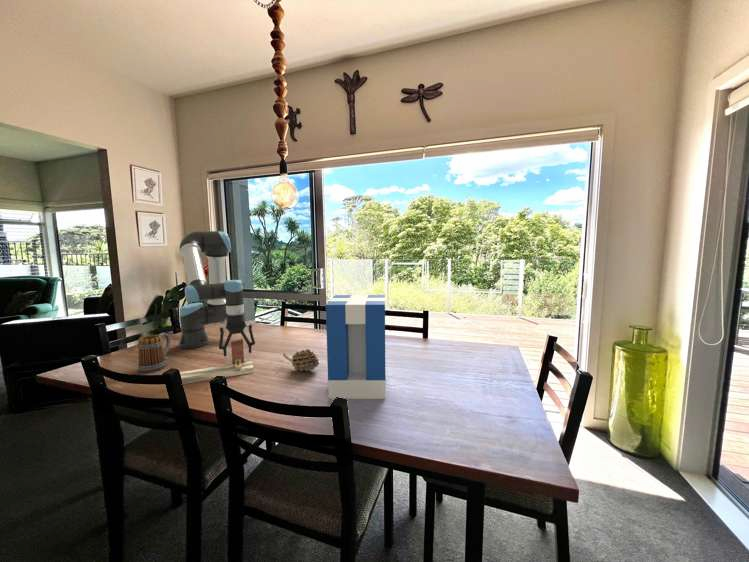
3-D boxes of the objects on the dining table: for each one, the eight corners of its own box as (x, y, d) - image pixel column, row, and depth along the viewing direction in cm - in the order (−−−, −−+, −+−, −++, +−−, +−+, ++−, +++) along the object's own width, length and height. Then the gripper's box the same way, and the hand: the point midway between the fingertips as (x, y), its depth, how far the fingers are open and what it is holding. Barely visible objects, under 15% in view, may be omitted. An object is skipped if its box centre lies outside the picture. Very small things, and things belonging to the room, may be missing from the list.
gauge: (232, 364, 148) (231, 339, 147) (244, 362, 150) (242, 338, 149) (232, 375, 135) (230, 349, 134) (245, 373, 137) (243, 347, 136)
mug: (152, 374, 139) (148, 341, 137) (132, 372, 141) (129, 340, 139) (180, 361, 154) (177, 331, 152) (162, 359, 156) (159, 330, 154)
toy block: (337, 374, 136) (334, 295, 132) (385, 374, 135) (384, 294, 131) (328, 398, 115) (325, 304, 111) (385, 398, 114) (384, 304, 110)
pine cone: (324, 370, 141) (324, 348, 140) (310, 378, 133) (310, 355, 132) (288, 361, 152) (287, 341, 150) (273, 368, 143) (272, 347, 142)
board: (178, 376, 135) (177, 372, 135) (252, 365, 147) (252, 361, 147) (174, 385, 127) (174, 380, 127) (253, 372, 139) (253, 368, 139)
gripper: (209, 317, 137) (212, 367, 139) (259, 313, 145) (262, 360, 148) (210, 314, 143) (213, 362, 146) (258, 309, 152) (261, 355, 154)
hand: (238, 361), depth 147 cm, fingers open, 8 cm apart
